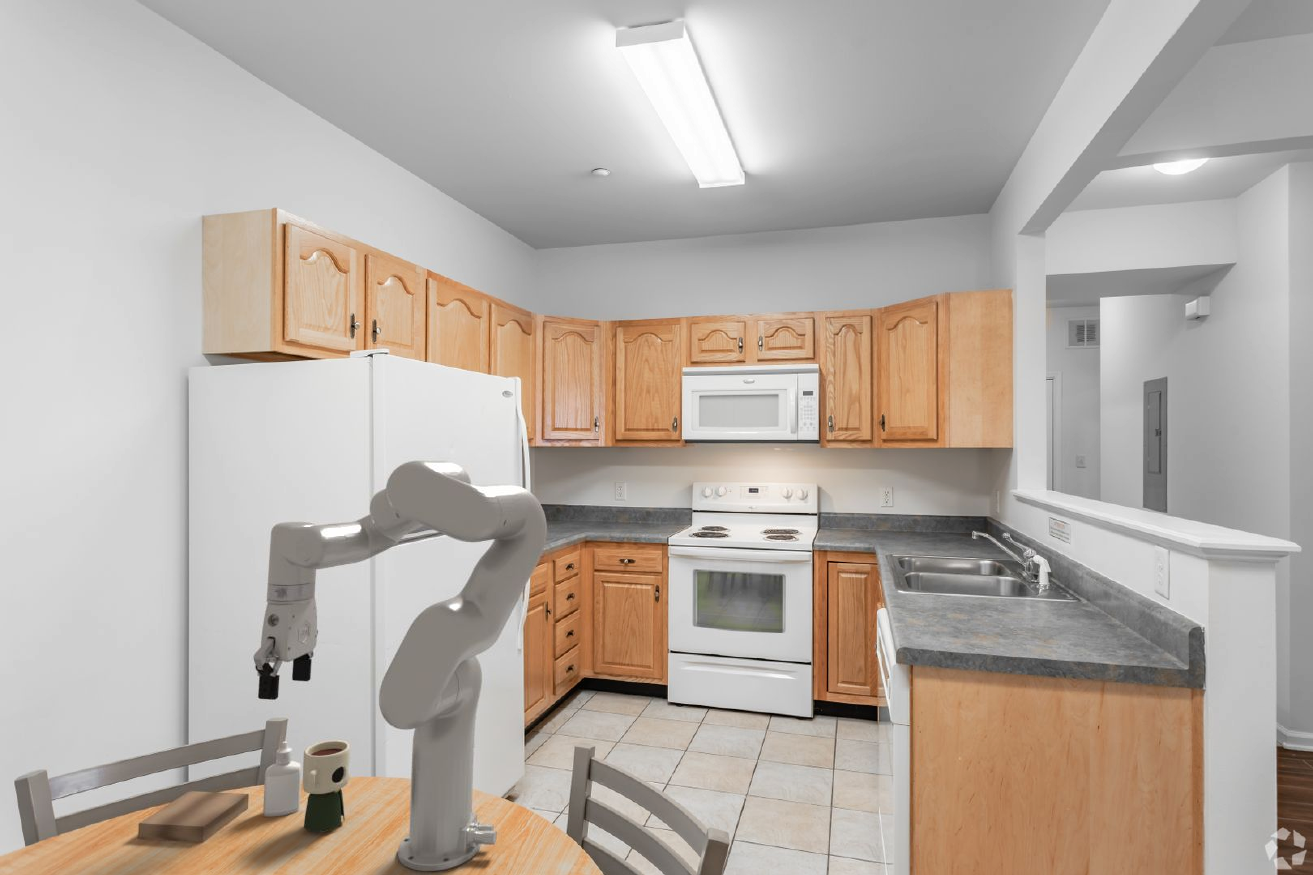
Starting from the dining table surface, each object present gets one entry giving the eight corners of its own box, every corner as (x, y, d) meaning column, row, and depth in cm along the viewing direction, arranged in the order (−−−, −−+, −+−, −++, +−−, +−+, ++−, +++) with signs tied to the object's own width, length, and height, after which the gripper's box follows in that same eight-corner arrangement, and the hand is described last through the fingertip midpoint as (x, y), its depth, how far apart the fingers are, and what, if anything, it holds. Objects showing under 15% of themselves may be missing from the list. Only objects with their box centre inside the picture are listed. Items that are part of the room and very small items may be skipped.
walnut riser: (248, 808, 120) (248, 793, 120) (202, 842, 109) (203, 826, 109) (188, 805, 120) (189, 790, 120) (137, 838, 109) (138, 823, 109)
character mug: (329, 844, 109) (333, 762, 109) (285, 843, 109) (289, 761, 109) (359, 810, 120) (362, 735, 120) (319, 809, 120) (322, 735, 120)
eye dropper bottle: (288, 819, 116) (291, 748, 117) (258, 816, 117) (261, 746, 117) (304, 806, 121) (307, 738, 121) (275, 804, 121) (278, 736, 122)
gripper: (282, 602, 111) (275, 707, 111) (337, 584, 129) (331, 675, 128) (238, 600, 112) (231, 705, 111) (299, 582, 129) (293, 673, 128)
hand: (285, 689), depth 119 cm, fingers open, 9 cm apart
